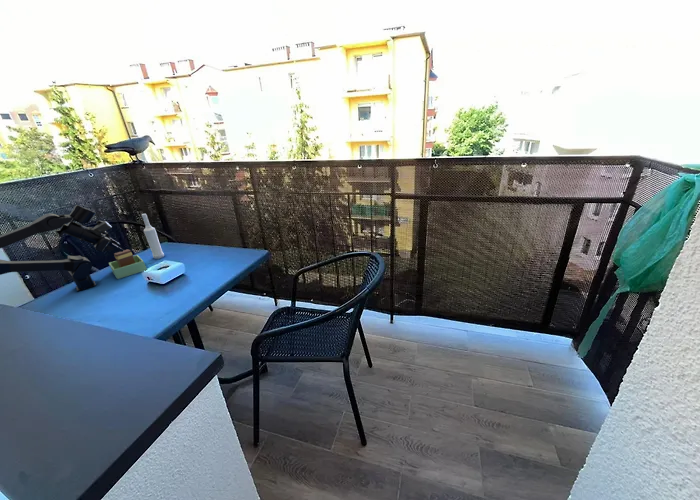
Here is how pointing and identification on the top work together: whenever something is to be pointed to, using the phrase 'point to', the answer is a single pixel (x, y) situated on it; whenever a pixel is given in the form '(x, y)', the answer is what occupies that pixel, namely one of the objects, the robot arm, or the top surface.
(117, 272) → the green open tray
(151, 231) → the bottle
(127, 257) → the chocolate bar
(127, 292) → the top surface
